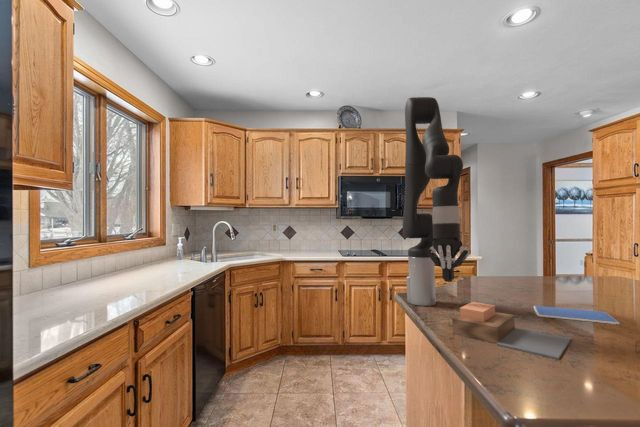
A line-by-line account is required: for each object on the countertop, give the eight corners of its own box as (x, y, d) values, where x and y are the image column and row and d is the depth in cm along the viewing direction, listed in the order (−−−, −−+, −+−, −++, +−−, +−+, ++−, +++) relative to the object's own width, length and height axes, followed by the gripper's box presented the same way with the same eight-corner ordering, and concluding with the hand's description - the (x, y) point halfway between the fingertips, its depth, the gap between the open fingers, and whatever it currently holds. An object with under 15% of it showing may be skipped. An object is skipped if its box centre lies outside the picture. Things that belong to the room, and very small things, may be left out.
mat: (496, 345, 77) (496, 343, 77) (515, 329, 88) (515, 327, 88) (558, 359, 68) (558, 357, 68) (570, 339, 79) (570, 337, 79)
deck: (453, 333, 85) (452, 318, 85) (472, 321, 95) (472, 308, 95) (498, 344, 77) (497, 327, 77) (514, 329, 87) (514, 315, 87)
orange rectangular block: (460, 317, 86) (459, 307, 86) (472, 310, 93) (472, 301, 93) (483, 321, 82) (483, 311, 82) (495, 314, 88) (494, 305, 88)
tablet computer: (606, 315, 100) (606, 311, 101) (621, 327, 89) (620, 322, 89) (533, 309, 110) (533, 305, 110) (538, 318, 98) (538, 314, 98)
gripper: (418, 223, 96) (421, 281, 95) (463, 221, 87) (466, 285, 86) (430, 222, 101) (432, 277, 101) (474, 221, 92) (477, 282, 91)
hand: (448, 281), depth 93 cm, fingers closed
